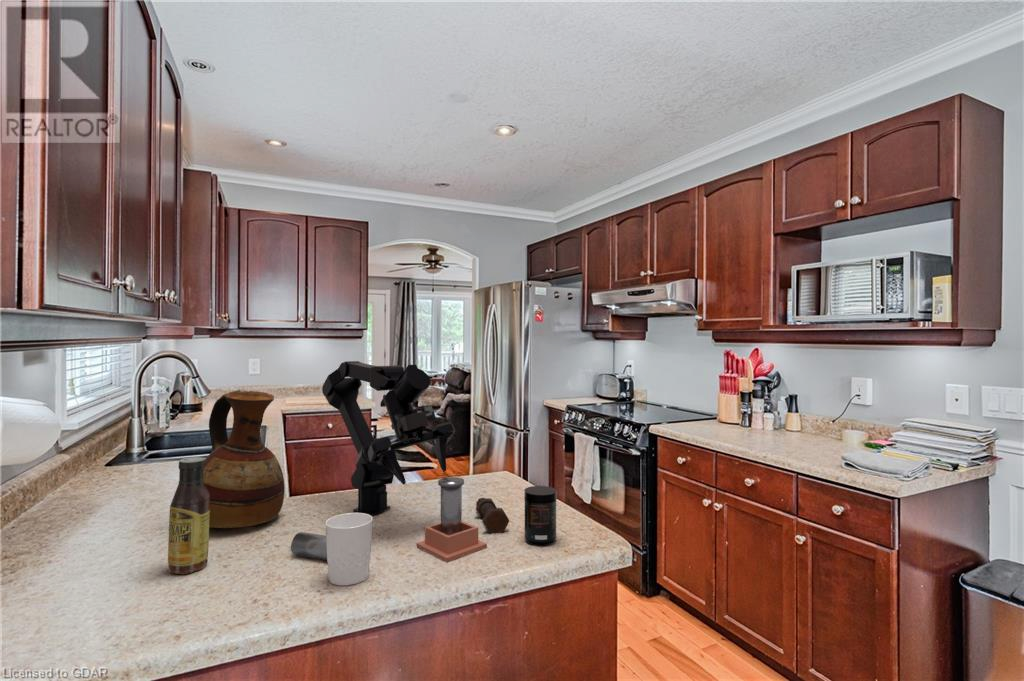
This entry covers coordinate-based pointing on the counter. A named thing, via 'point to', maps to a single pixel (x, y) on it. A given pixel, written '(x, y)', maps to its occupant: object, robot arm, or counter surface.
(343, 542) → the white cup
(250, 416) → the ceramic pitcher
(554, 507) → the supplement container
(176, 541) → the sauce bottle
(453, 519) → the steel pin
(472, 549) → the square planter with saucer
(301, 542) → the pin
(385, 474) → the robot arm
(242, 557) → the counter surface
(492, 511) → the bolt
